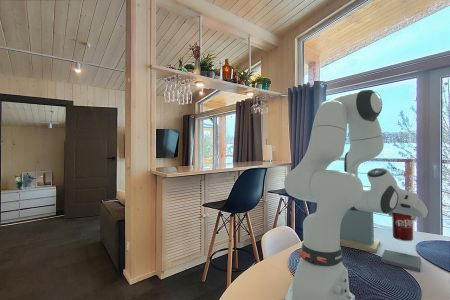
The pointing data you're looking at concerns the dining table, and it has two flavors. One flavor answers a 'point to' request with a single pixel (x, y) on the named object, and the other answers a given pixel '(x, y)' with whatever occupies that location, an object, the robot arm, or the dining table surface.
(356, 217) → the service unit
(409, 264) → the pad
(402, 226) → the soda can
